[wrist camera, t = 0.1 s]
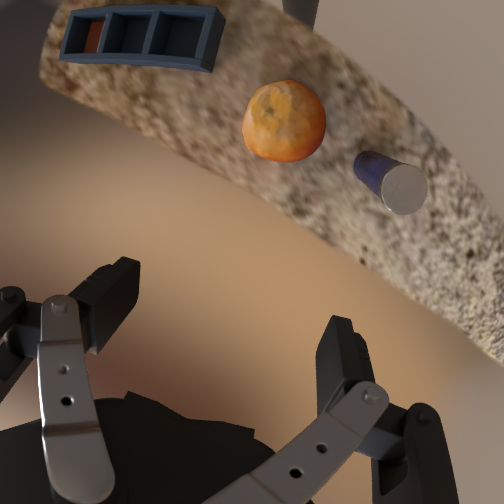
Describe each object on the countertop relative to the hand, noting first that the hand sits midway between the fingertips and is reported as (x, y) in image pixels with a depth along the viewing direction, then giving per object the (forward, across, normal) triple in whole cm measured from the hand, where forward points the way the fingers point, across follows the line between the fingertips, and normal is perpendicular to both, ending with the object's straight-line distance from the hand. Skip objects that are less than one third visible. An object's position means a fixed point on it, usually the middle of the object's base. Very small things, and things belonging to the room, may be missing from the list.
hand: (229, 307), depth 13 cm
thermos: (+24, -10, -5) cm, 26 cm away
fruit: (+24, 0, -7) cm, 25 cm away
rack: (+24, +18, -14) cm, 33 cm away
